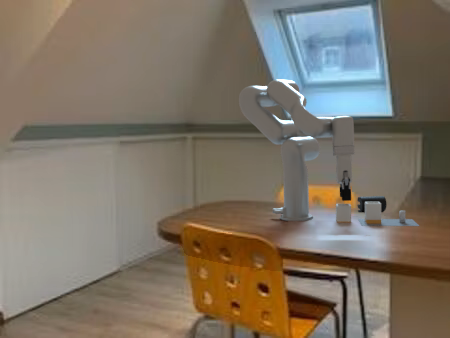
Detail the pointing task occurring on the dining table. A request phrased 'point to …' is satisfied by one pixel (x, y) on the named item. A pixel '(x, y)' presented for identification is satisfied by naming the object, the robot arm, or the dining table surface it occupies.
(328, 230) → the dining table surface
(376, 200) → the end cap
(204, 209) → the dining table surface
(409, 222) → the pin board
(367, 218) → the seated sleeve
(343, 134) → the robot arm
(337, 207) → the sleeve
